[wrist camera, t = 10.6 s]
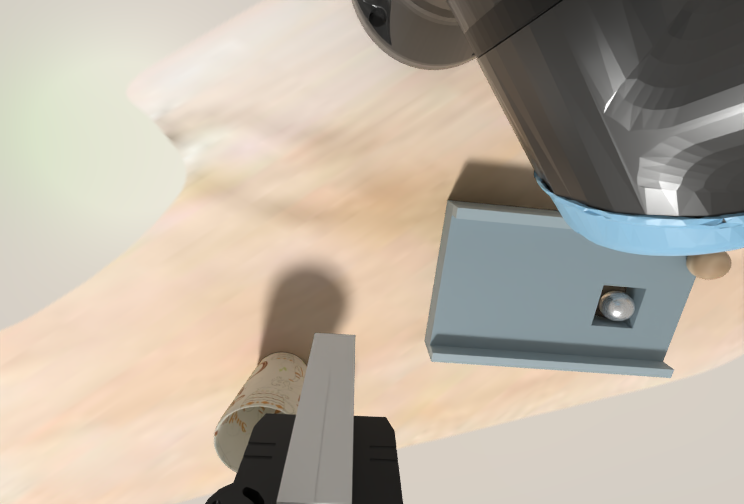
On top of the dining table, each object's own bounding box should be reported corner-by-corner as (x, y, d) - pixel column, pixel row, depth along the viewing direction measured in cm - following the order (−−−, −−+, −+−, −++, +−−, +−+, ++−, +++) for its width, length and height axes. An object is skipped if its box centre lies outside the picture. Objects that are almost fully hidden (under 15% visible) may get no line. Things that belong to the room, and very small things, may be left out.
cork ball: (684, 240, 36) (714, 250, 33) (714, 243, 36) (747, 253, 33) (673, 271, 37) (701, 283, 34) (702, 273, 37) (733, 286, 34)
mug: (278, 328, 40) (253, 388, 31) (361, 393, 43) (361, 466, 34) (231, 376, 42) (193, 446, 33) (314, 435, 45) (302, 516, 35)
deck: (447, 200, 37) (457, 207, 33) (692, 223, 38) (728, 233, 35) (424, 340, 41) (431, 361, 38) (643, 356, 43) (670, 377, 39)
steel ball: (642, 302, 37) (636, 292, 39) (606, 292, 38) (603, 283, 41) (630, 330, 38) (626, 318, 40) (595, 319, 39) (593, 309, 42)
